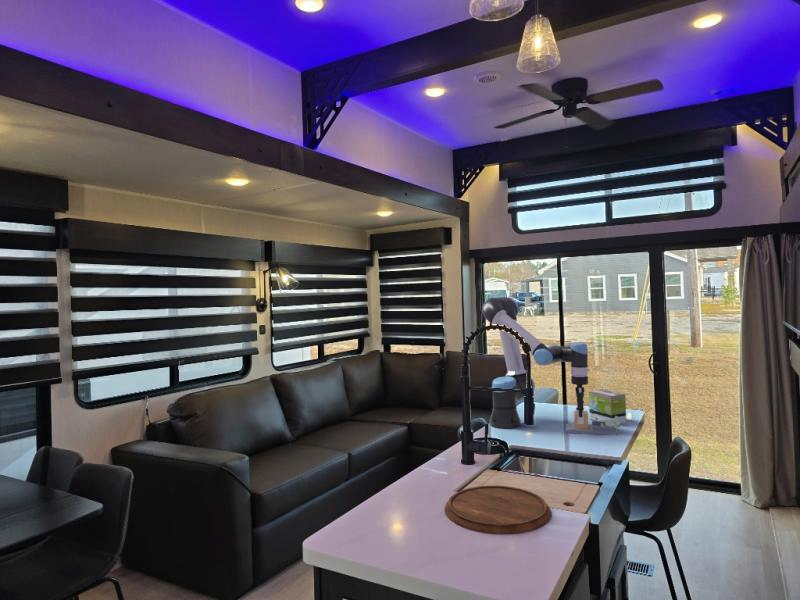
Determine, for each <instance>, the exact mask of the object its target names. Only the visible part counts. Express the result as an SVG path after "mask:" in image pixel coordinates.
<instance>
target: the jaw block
mask: <svg viewBox="0 0 800 600" xmlns="http://www.w3.org/2000/svg"><path fill="white" fill-rule="evenodd" d="M588 413H589V412H588V410H584V424H578V419H577V410H574V411H573V414H574V415H573V416H574V417H573V418H574V424H575V428H578V429H588V424H589V414H588Z"/></svg>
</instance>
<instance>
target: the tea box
mask: <svg viewBox="0 0 800 600" xmlns="http://www.w3.org/2000/svg"><path fill="white" fill-rule="evenodd" d="M626 403H627V402H626V393H623V392H616V391H611V390H608V389H604V388H603V389H596V390H590V391H588V404H589V407H588V408H589V412H588V413H589V420H591V421H604V420H615V416H618V418H619V421H620V425H622V424H625V423H627V408H626V407H627V406H626ZM621 423H622V424H621Z"/></svg>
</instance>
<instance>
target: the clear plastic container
mask: <svg viewBox="0 0 800 600" xmlns="http://www.w3.org/2000/svg"><path fill="white" fill-rule="evenodd" d="M565 433H566V434H580V433H585V435H603V434H604V435H605V434H606V436H608V435H609V436H617V435H618V433H617V427H606V426H605V423H604V421H596V420H591V424H589V423H588V429H578V428H575V423H567V422H566V423H565Z"/></svg>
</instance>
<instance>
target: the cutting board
mask: <svg viewBox="0 0 800 600" xmlns="http://www.w3.org/2000/svg"><path fill="white" fill-rule="evenodd" d="M444 514H445V516H446V517H447V518H448V519H449V521H451V522H452V523H454V524H455V525H457V526H459V527H461V528H463V529H465V530H466V529H467V530H469V531H473V532H478V533H483V534H491V535H492V534H493V535H515V534H523V533H527V532H532V531H535V530H537V529H540V528H542V527H544V526H545V525H547V524H548V522H550V520H551V518H552V511H551V508H550V506H549V505H548V503H547V502H546V500H545V499H544V498H542V497H541V496H540V495H538V494H536V493H535V492H532V491H529V490H526V489H523V488H519V487H513V486H507V485H478V486H472V487H469V488H467V487H466V488H464V489H462V490H460V491H457V492H455V493H454V494H452V495H451V496H450V497H449V499H448V500H447V502H446V503H445V505H444Z"/></svg>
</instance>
